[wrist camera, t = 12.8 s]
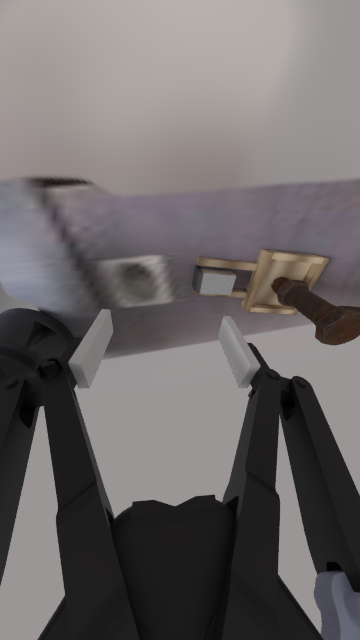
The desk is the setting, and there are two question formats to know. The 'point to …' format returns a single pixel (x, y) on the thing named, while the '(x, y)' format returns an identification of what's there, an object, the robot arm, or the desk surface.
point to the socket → (270, 277)
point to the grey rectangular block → (213, 280)
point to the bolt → (319, 311)
